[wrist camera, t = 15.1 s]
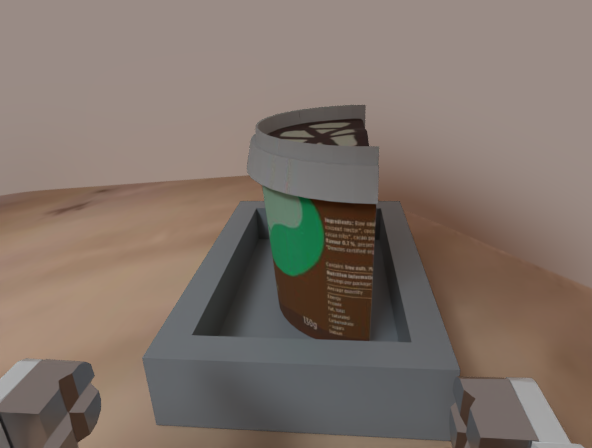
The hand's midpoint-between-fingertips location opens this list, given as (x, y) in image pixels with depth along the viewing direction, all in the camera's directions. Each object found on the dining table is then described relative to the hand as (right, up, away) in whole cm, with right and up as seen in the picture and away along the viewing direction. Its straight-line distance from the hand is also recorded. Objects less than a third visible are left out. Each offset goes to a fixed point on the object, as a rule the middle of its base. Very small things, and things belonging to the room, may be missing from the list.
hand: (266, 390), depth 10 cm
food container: (+2, -1, +16) cm, 16 cm away
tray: (+2, -1, +16) cm, 16 cm away
